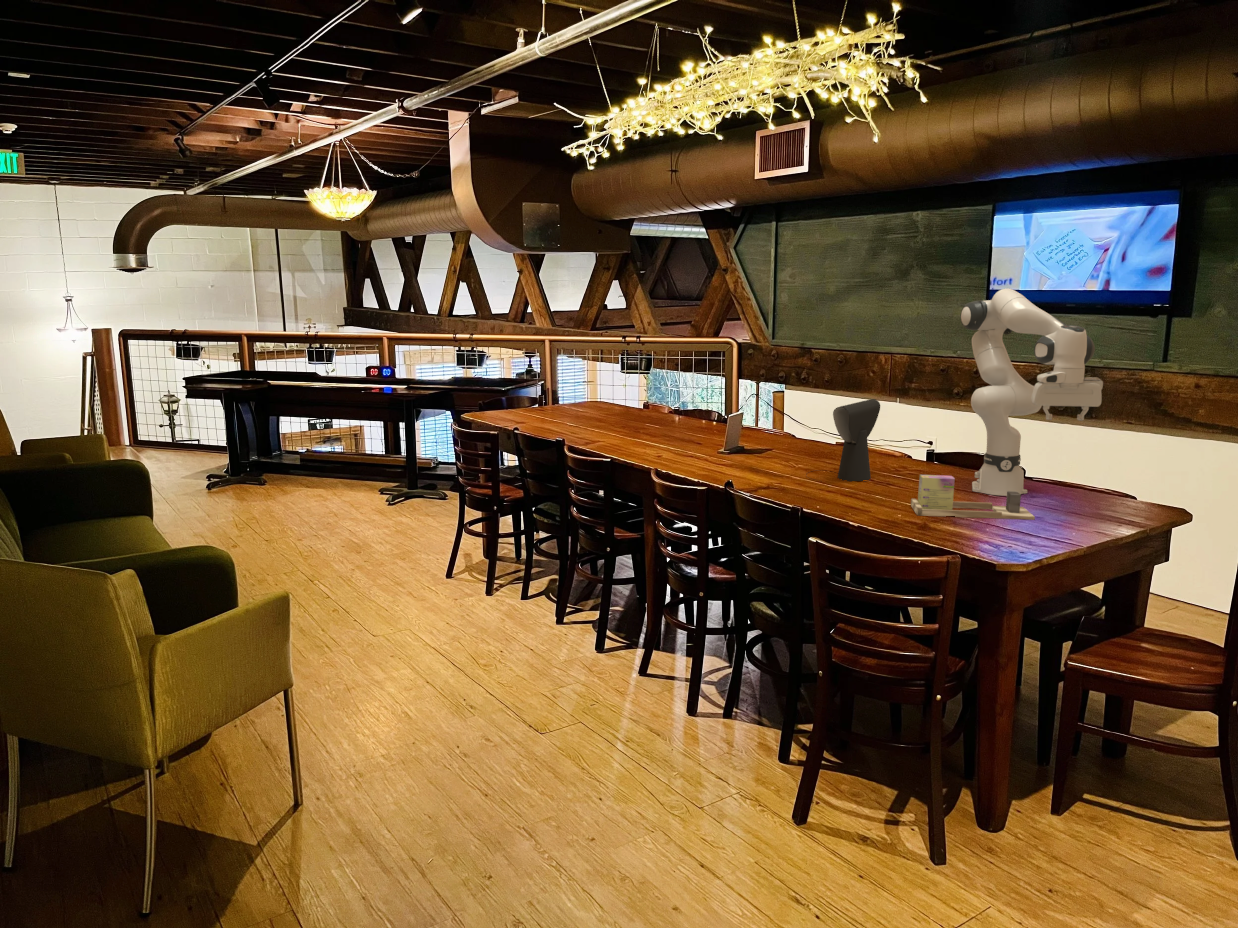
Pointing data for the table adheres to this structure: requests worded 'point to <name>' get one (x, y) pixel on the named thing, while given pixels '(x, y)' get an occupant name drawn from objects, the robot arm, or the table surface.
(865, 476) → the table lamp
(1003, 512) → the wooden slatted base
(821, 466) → the table surface
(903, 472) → the table surface
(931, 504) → the box
